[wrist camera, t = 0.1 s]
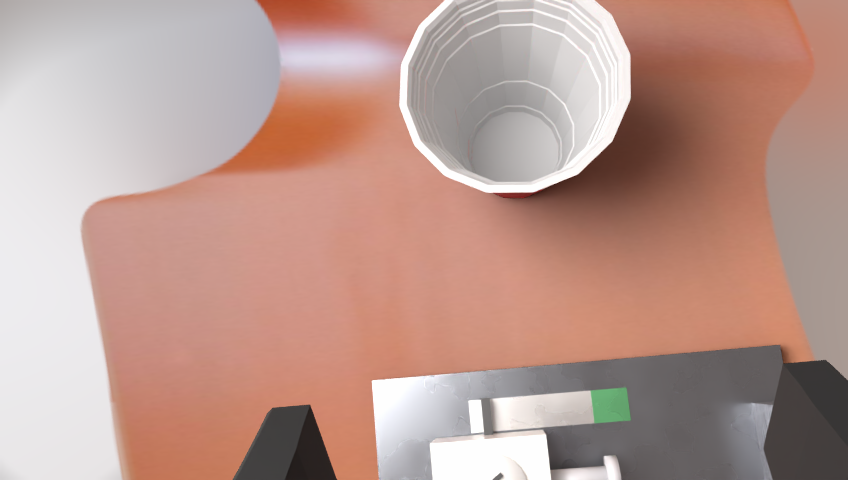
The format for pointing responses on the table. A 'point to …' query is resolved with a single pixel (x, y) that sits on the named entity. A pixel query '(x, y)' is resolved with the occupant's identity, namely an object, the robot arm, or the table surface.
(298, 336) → the table surface
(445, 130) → the plastic cup
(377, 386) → the gauge bench
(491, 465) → the gauge
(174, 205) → the table surface
